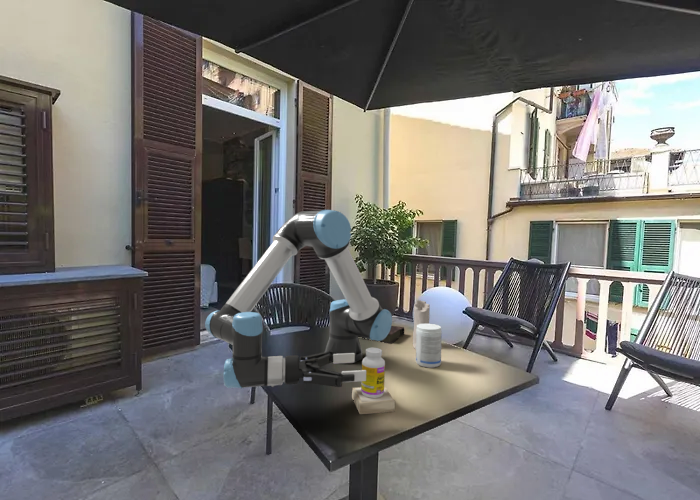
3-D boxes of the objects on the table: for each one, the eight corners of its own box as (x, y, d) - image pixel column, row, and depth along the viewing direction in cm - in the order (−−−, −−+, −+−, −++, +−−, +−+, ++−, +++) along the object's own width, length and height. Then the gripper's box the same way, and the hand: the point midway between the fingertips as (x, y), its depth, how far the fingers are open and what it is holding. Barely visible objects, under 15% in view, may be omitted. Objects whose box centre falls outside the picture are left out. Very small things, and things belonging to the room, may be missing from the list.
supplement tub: (446, 365, 134) (447, 327, 133) (428, 370, 128) (429, 330, 128) (427, 357, 142) (428, 322, 141) (410, 362, 136) (411, 324, 136)
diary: (359, 328, 186) (359, 319, 186) (404, 336, 174) (404, 326, 174) (342, 336, 170) (342, 326, 169) (390, 345, 158) (390, 334, 158)
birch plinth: (352, 397, 105) (352, 387, 105) (383, 395, 107) (384, 385, 107) (359, 414, 96) (360, 403, 95) (394, 411, 98) (394, 400, 97)
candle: (414, 351, 149) (415, 304, 148) (412, 341, 163) (413, 299, 162) (431, 352, 148) (433, 305, 148) (428, 342, 162) (429, 299, 161)
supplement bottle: (377, 401, 97) (378, 355, 96) (356, 394, 100) (358, 350, 100) (387, 392, 102) (389, 349, 102) (368, 386, 106) (369, 344, 105)
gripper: (282, 366, 108) (350, 363, 112) (285, 405, 83) (371, 399, 88) (283, 342, 107) (350, 340, 112) (285, 374, 83) (371, 369, 87)
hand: (359, 366), depth 100 cm, fingers open, 13 cm apart
